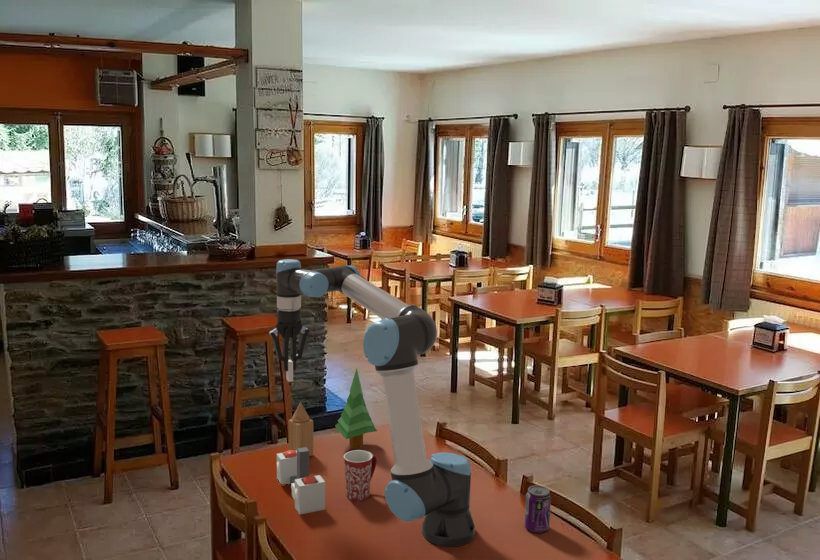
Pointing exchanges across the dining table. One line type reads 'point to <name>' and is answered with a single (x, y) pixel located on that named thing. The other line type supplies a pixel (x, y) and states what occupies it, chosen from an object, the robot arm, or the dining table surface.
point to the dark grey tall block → (301, 466)
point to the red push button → (290, 454)
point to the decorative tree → (355, 416)
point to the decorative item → (301, 430)
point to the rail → (292, 479)
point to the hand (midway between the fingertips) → (289, 380)
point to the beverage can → (537, 508)
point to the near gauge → (309, 480)
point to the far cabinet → (286, 468)
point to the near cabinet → (309, 495)
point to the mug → (359, 474)
